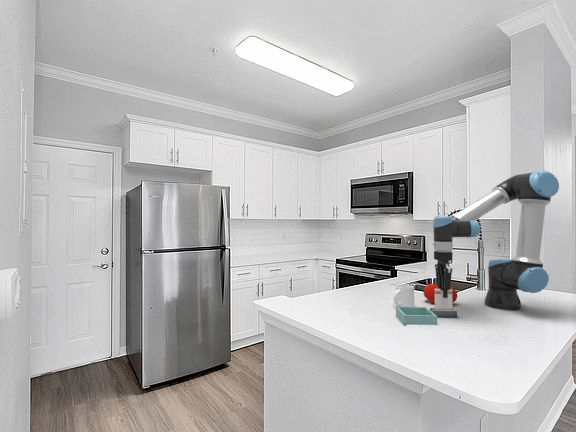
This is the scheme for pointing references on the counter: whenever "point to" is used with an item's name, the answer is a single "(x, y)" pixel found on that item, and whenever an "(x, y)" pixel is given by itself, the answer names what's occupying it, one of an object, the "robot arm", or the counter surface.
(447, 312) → the metal rectangular holder
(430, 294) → the tomato
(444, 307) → the cream red-striped panel
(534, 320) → the counter surface
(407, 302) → the mug
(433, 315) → the tray
